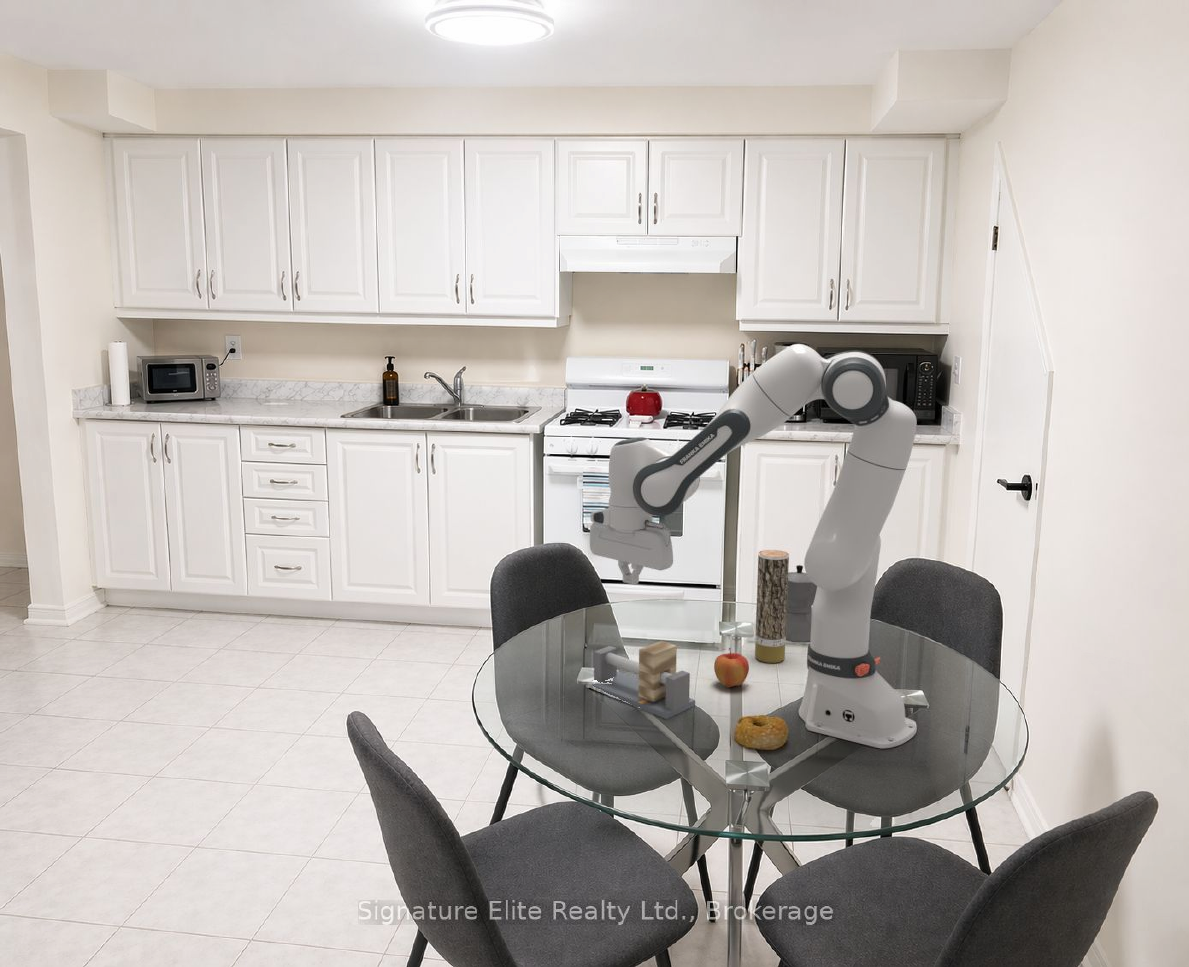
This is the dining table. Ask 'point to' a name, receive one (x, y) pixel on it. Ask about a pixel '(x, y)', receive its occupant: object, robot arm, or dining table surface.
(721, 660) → the apple
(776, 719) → the bagel
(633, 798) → the dining table surface
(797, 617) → the coffeepot
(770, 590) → the brown tall cylinder piece
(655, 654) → the collar
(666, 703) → the pipe stand
